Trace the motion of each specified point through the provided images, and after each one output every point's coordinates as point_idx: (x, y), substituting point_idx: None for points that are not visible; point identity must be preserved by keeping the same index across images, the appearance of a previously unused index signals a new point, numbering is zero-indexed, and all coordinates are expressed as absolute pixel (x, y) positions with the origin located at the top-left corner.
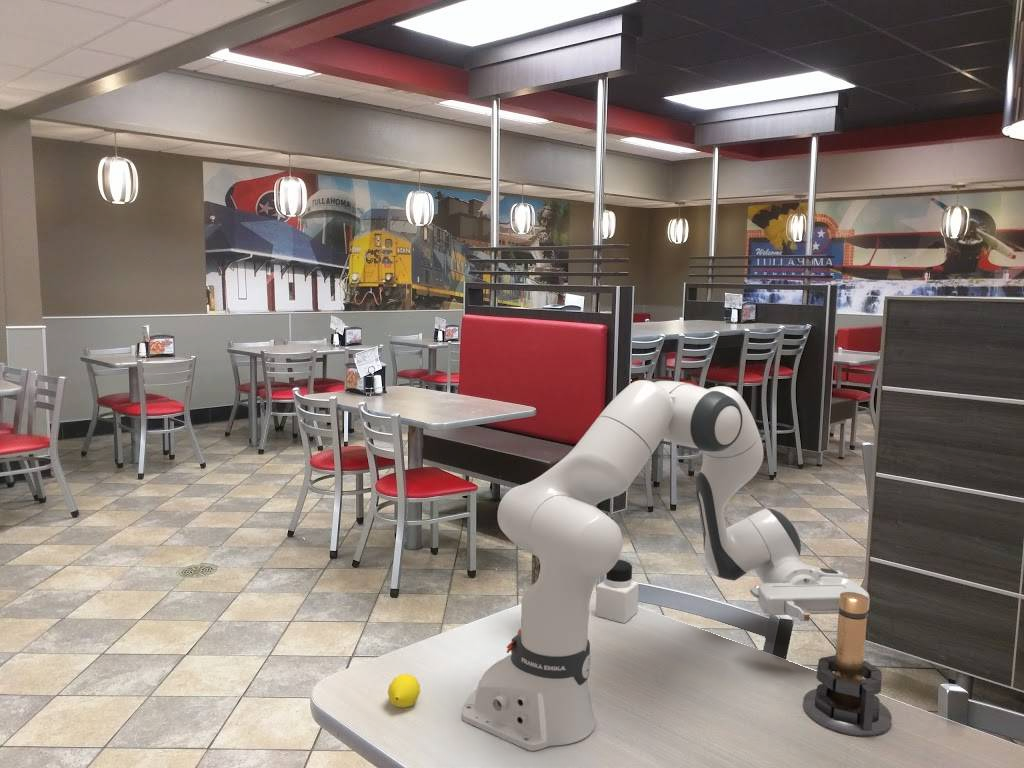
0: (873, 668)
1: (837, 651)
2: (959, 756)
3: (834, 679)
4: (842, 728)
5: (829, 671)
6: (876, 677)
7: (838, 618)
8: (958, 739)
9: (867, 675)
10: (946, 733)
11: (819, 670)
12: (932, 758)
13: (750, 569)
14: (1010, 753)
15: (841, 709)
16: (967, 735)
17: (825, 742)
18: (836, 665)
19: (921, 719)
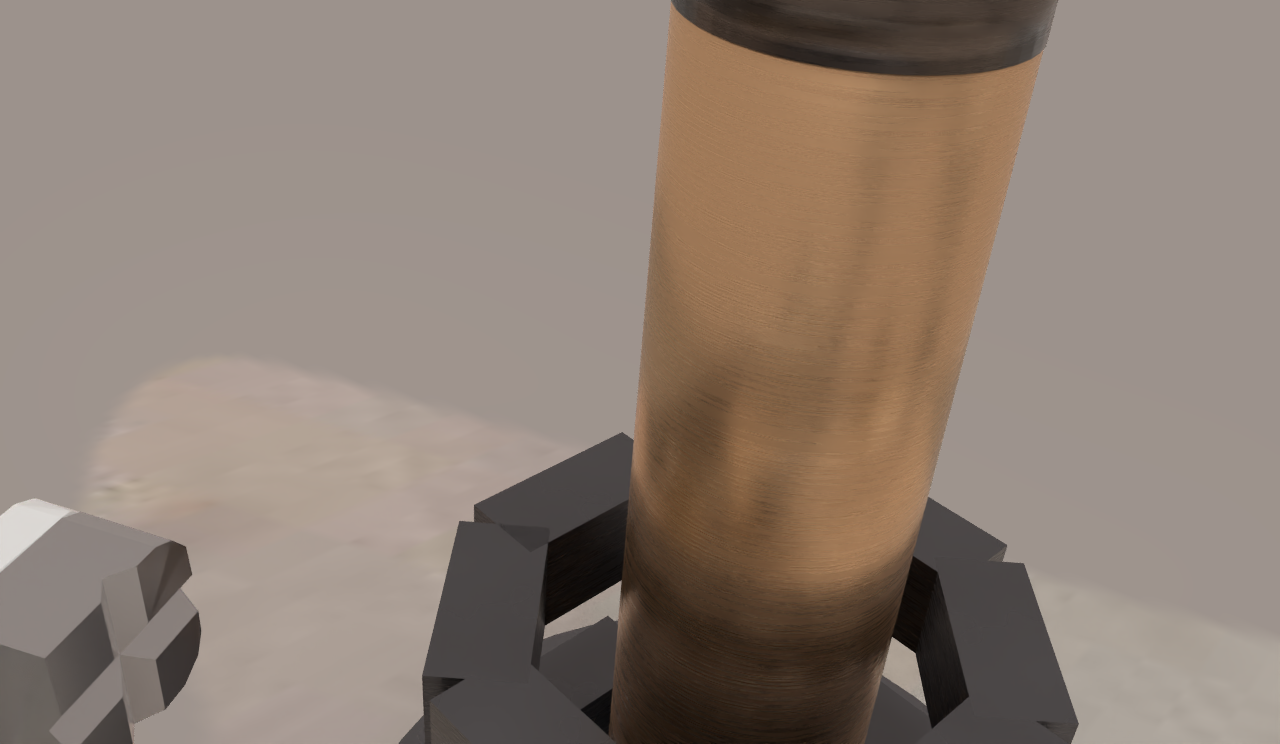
0: (490, 559)
1: (928, 494)
2: (429, 423)
3: (1008, 565)
4: (925, 706)
5: (980, 655)
6: (610, 471)
7: (1011, 145)
8: (269, 487)
9: (542, 627)
10: (264, 534)
11: (1072, 712)
12: (575, 452)
13: None
14: (173, 368)
15: (898, 703)
16: (178, 490)
17: (1086, 711)
18: (896, 618)
19: (232, 662)
